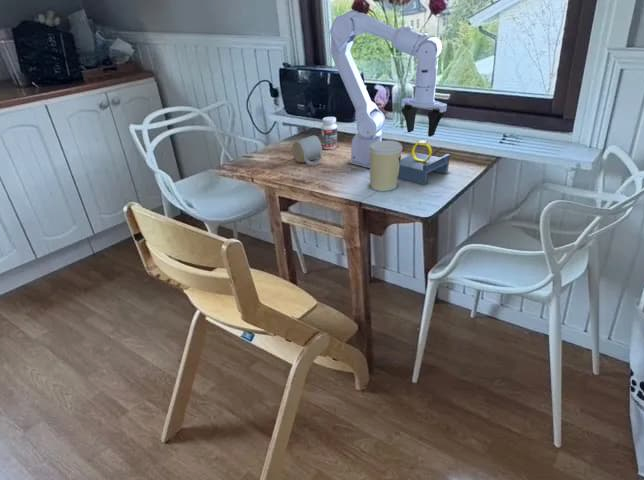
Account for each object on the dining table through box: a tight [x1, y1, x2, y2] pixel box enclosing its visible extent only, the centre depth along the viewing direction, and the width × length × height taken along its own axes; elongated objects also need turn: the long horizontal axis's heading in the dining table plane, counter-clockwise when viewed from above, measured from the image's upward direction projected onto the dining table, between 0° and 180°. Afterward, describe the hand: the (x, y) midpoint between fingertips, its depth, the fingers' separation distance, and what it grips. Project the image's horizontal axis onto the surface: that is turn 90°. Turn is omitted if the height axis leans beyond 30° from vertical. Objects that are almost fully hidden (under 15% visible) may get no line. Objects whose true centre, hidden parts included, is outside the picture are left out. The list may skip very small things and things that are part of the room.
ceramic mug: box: [291, 134, 323, 167], centre depth 176 cm, size 11×8×8 cm
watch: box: [411, 139, 433, 162], centre depth 156 cm, size 6×3×6 cm, turn 49°
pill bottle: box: [320, 116, 338, 150], centre depth 185 cm, size 6×6×10 cm
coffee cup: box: [369, 140, 403, 192], centre depth 152 cm, size 9×9×12 cm
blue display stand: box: [398, 152, 451, 185], centre depth 158 cm, size 12×12×6 cm
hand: (420, 133), depth 158 cm, fingers open, 7 cm apart
